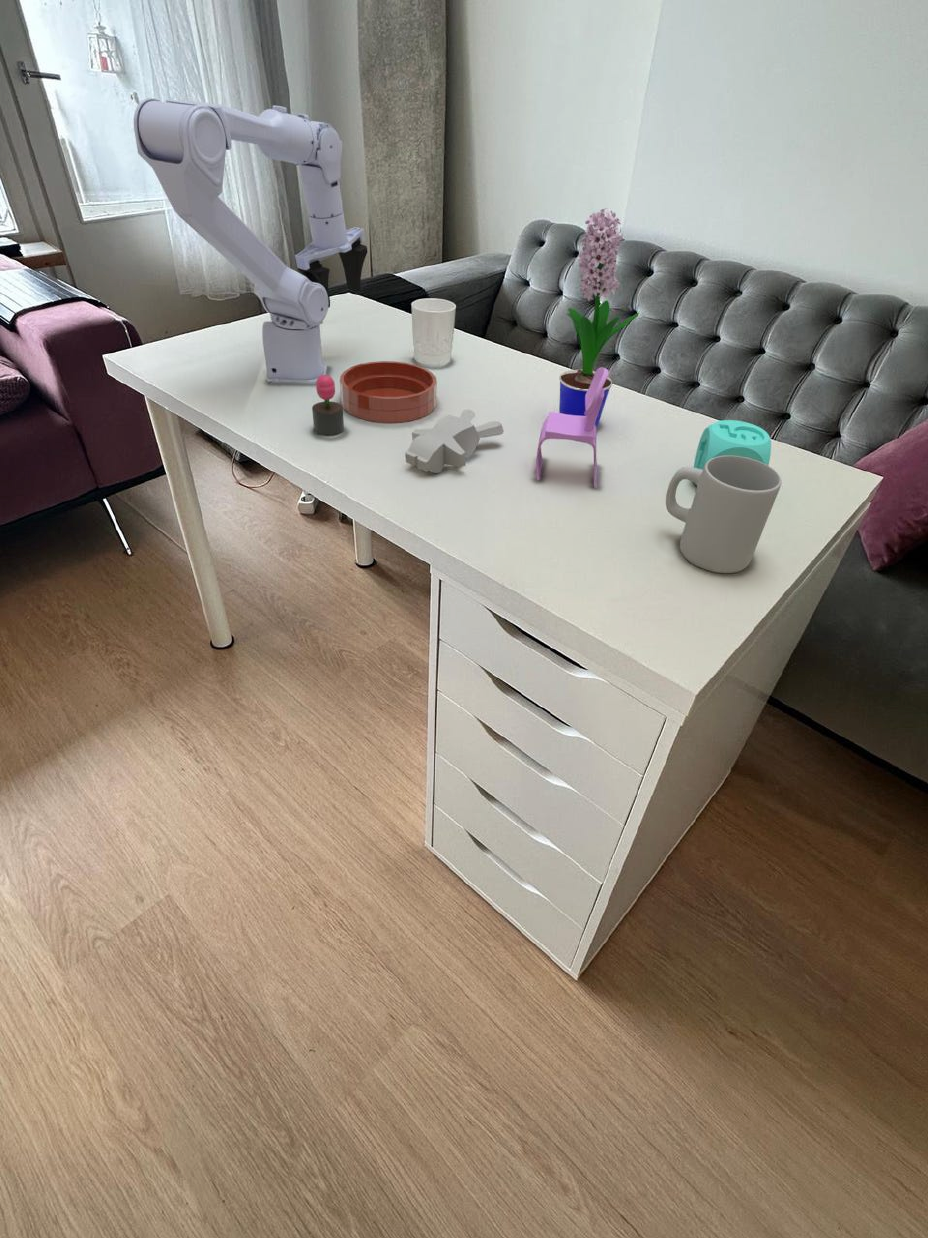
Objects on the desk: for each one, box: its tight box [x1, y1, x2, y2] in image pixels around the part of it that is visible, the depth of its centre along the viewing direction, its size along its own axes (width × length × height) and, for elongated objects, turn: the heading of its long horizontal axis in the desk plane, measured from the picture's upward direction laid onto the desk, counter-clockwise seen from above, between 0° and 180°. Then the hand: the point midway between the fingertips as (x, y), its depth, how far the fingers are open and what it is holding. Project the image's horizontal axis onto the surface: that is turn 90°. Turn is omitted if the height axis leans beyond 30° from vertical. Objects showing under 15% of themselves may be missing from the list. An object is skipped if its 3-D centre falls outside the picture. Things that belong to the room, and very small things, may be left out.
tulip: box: [311, 374, 345, 437], centre depth 98 cm, size 4×4×9 cm
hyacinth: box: [558, 207, 640, 430], centre depth 98 cm, size 9×10×30 cm
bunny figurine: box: [404, 409, 505, 474], centre depth 96 cm, size 10×5×15 cm
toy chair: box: [535, 366, 610, 489], centre depth 90 cm, size 8×9×15 cm
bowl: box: [339, 360, 438, 424], centre depth 108 cm, size 15×15×4 cm
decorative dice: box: [693, 419, 772, 470], centre depth 93 cm, size 8×8×8 cm
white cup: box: [410, 297, 457, 367], centre depth 122 cm, size 8×8×10 cm
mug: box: [665, 456, 782, 574], centre depth 79 cm, size 12×8×11 cm
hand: (339, 298), depth 118 cm, fingers open, 7 cm apart
